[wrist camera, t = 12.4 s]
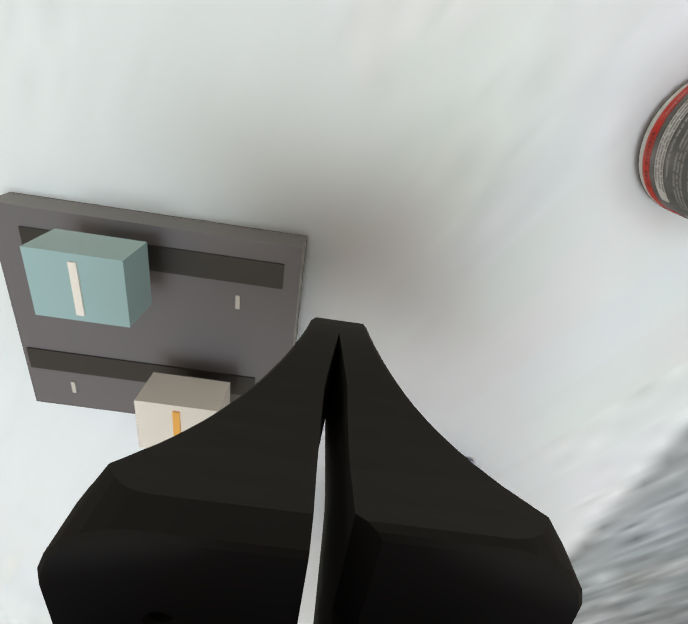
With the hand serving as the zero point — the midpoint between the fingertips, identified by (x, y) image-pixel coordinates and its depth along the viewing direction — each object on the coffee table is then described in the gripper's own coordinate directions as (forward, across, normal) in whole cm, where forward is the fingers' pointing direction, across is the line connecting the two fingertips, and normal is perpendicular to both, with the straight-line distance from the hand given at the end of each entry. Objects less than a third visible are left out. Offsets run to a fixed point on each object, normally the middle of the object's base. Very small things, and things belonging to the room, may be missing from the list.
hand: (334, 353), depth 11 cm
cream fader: (+8, +6, +8) cm, 13 cm away
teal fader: (+8, +10, +2) cm, 13 cm away
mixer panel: (+10, +8, +6) cm, 14 cm away
